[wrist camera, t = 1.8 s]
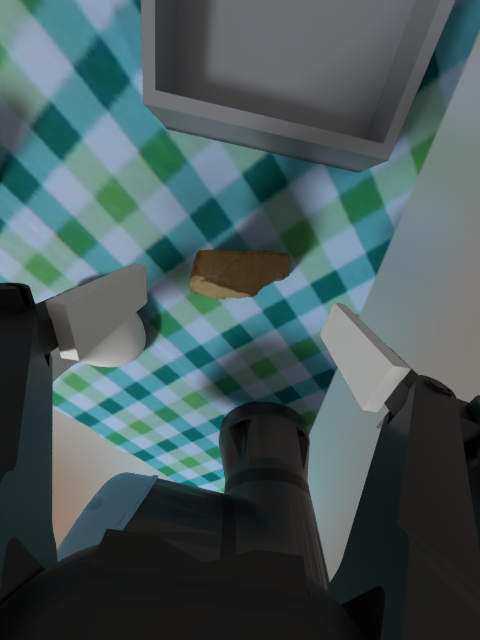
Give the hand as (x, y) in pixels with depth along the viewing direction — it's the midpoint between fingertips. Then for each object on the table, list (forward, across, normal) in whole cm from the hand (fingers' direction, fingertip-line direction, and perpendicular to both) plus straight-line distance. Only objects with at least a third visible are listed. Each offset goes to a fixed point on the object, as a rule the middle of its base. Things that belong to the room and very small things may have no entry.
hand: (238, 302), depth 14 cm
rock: (+10, 0, +1) cm, 10 cm away
